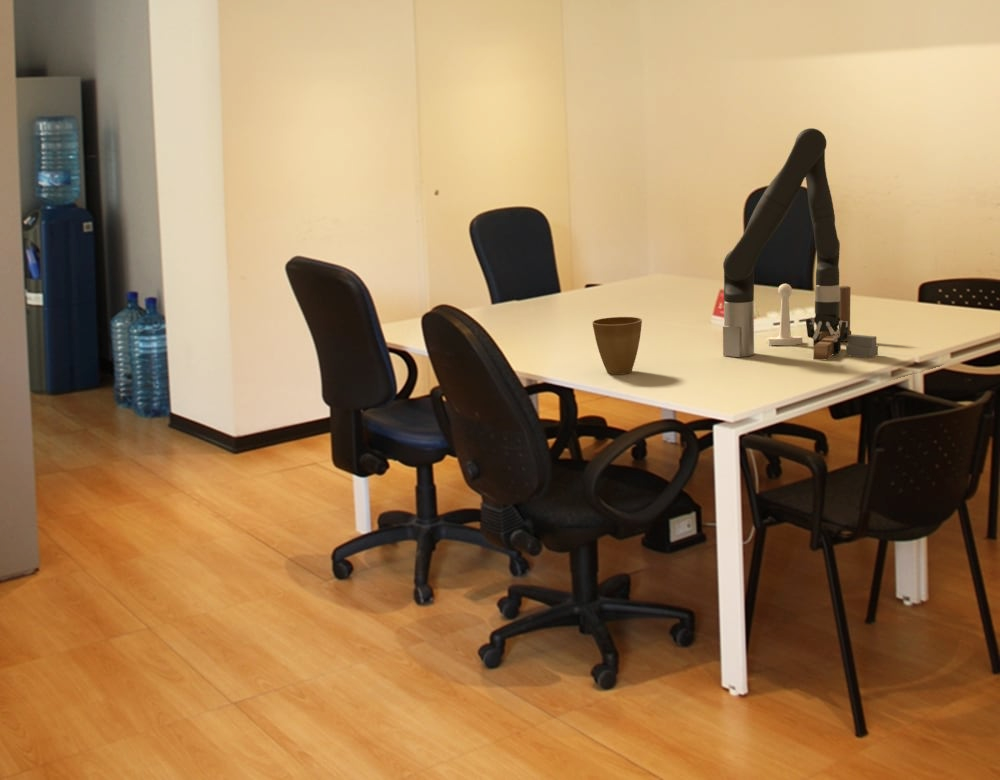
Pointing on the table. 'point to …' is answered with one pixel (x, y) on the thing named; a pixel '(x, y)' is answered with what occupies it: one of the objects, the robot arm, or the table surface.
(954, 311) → the table surface
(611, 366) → the plant pot
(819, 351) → the walnut bar
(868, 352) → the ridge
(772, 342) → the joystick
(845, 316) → the brown rod with wedge
